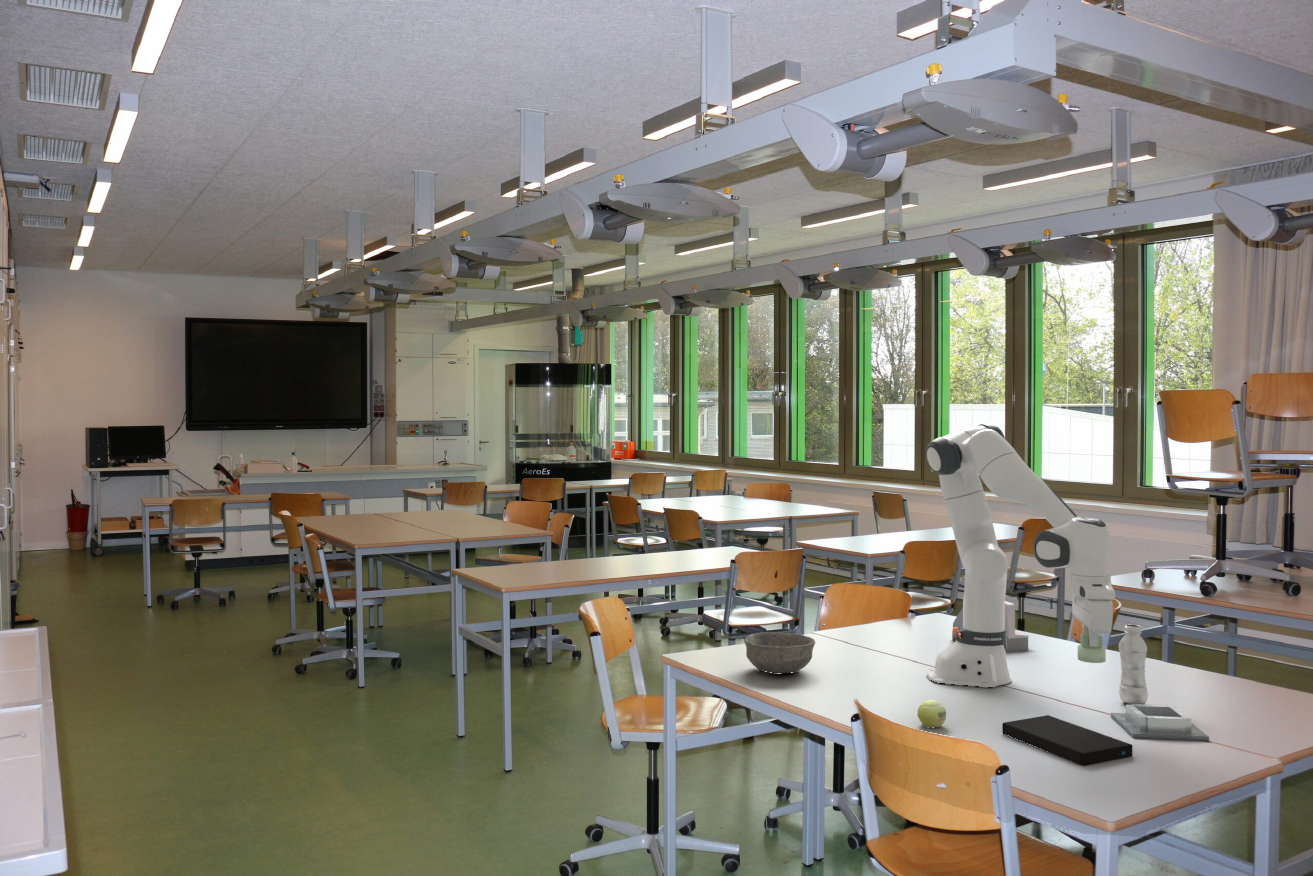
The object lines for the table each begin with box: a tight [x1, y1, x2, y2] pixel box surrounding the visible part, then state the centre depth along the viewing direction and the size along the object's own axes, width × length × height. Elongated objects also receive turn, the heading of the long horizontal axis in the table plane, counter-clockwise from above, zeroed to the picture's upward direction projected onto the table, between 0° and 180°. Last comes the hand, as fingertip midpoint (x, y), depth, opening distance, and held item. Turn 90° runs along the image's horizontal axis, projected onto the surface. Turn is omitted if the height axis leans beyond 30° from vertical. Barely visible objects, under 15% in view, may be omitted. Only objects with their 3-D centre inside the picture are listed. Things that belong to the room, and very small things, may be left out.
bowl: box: [743, 631, 816, 674], centre depth 275 cm, size 21×21×10 cm
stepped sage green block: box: [1077, 633, 1107, 664], centre depth 224 cm, size 6×6×6 cm
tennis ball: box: [917, 698, 947, 728], centre depth 225 cm, size 6×7×7 cm
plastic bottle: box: [1118, 623, 1149, 705], centre depth 241 cm, size 6×7×20 cm
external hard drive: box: [1001, 714, 1133, 767], centre depth 211 cm, size 14×23×3 cm, turn 23°
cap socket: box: [1110, 703, 1210, 742], centre depth 222 cm, size 16×16×4 cm
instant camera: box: [951, 600, 1029, 652], centre depth 309 cm, size 21×21×15 cm
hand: (1091, 644), depth 224 cm, fingers closed on stepped sage green block
